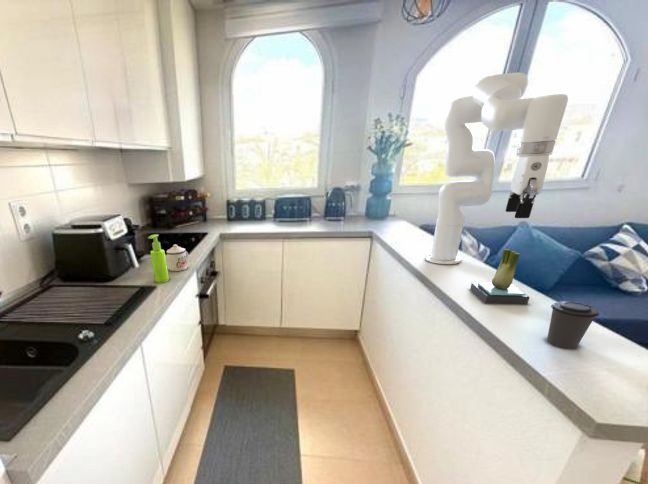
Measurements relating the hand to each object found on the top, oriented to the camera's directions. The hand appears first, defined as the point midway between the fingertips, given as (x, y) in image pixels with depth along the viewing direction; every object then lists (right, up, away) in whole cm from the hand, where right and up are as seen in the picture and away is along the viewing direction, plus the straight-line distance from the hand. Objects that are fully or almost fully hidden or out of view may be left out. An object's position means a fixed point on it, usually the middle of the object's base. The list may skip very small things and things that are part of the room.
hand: (516, 214), depth 99 cm
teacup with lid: (-107, -6, +67) cm, 126 cm away
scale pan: (+2, -21, +8) cm, 23 cm away
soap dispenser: (-113, -14, +51) cm, 125 cm away
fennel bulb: (+2, -21, +8) cm, 22 cm away
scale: (+2, -23, +10) cm, 25 cm away
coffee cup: (-3, -36, -17) cm, 40 cm away
